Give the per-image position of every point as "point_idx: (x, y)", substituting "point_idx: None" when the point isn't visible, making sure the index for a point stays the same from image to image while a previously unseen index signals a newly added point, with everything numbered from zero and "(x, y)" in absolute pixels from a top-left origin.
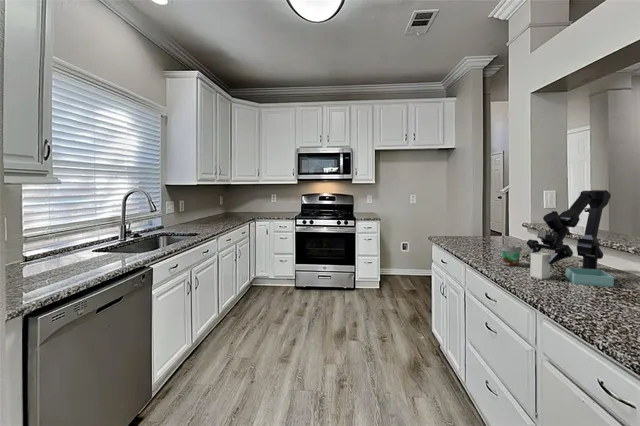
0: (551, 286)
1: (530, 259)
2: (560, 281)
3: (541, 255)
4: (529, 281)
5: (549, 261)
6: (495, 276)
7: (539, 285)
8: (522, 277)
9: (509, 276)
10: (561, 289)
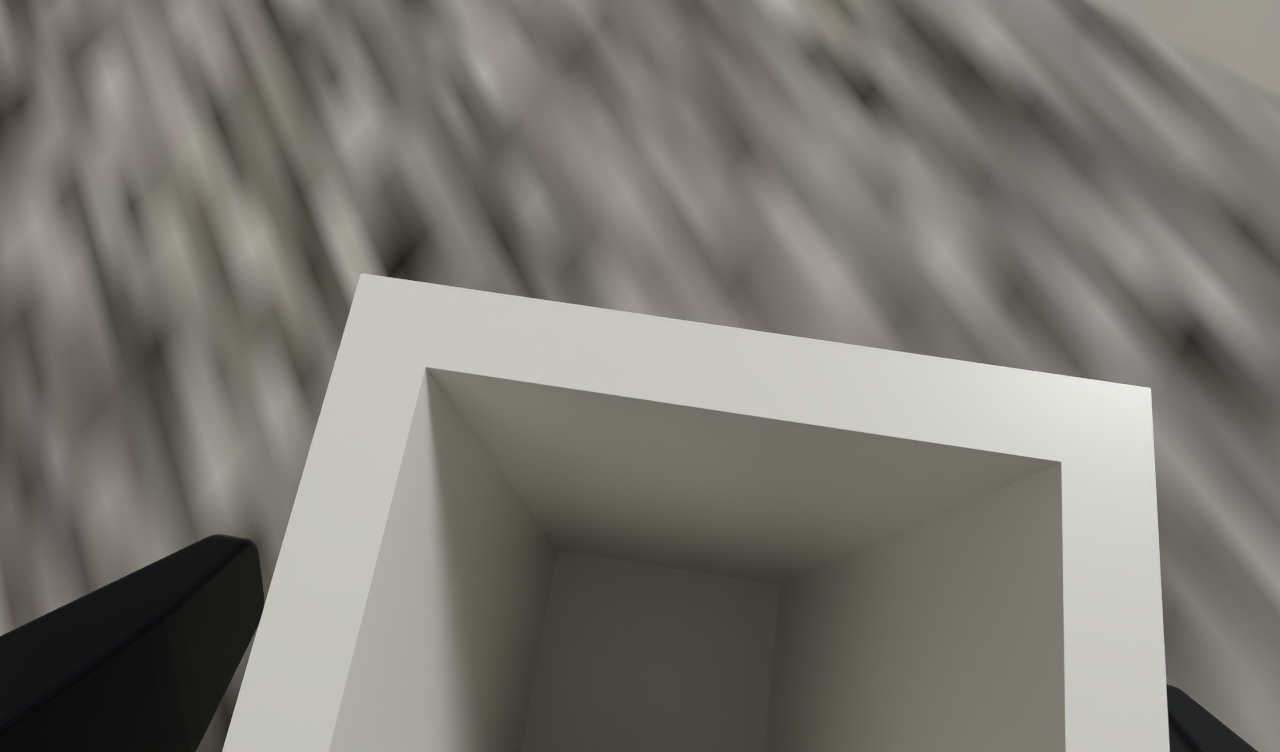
0: (207, 194)
1: None
2: None
3: (417, 289)
4: (606, 201)
5: (191, 572)
6: (1141, 48)
7: (372, 100)
8: None
9: (1031, 238)
10: (27, 151)
